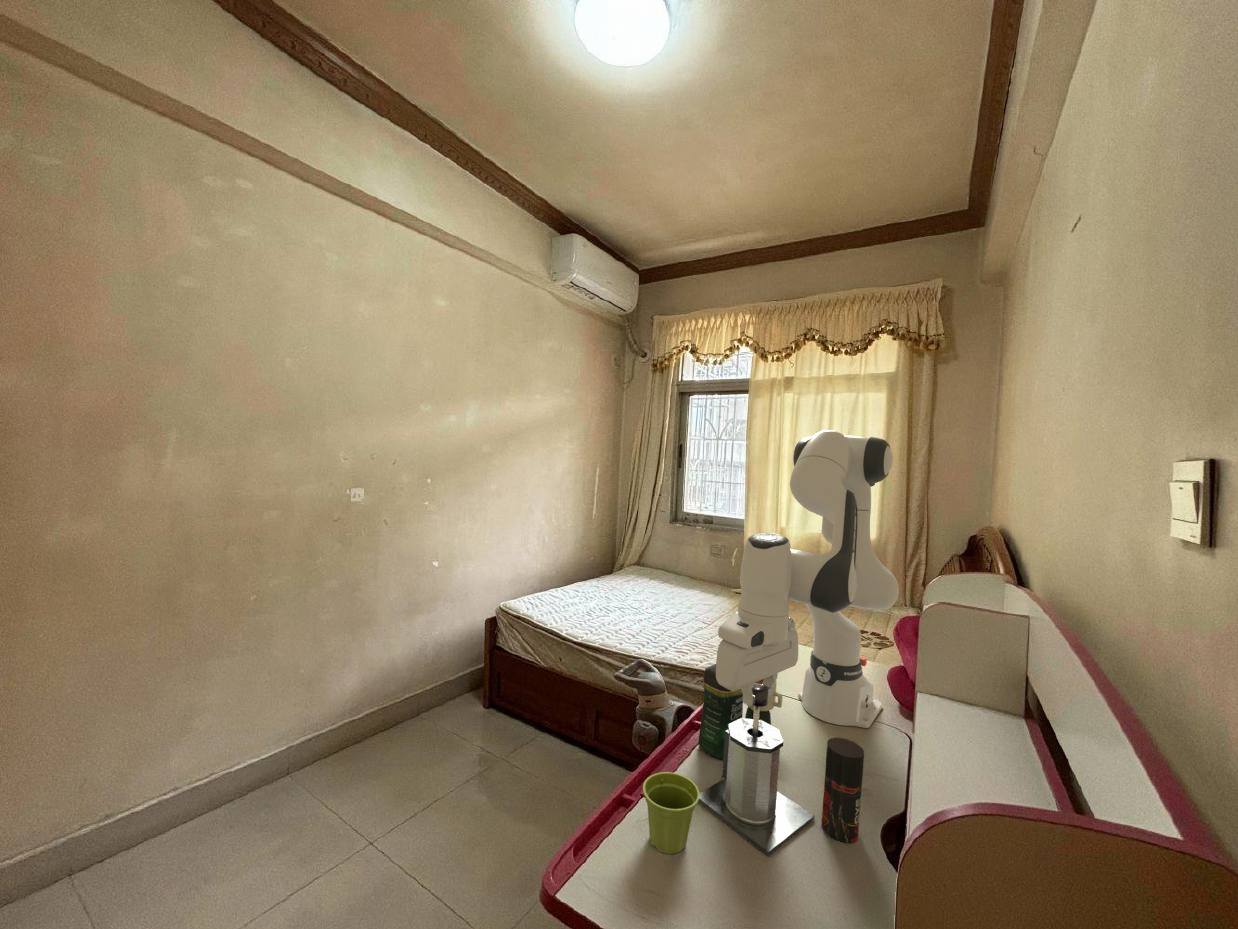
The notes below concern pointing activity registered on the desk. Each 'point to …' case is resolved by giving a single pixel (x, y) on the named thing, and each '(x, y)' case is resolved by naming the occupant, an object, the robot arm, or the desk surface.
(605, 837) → the desk surface
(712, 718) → the coffee jar
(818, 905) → the desk surface
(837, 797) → the deodorant
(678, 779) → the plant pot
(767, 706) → the character mug
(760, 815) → the silver octagonal canister
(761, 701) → the domed grey knob
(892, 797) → the desk surface
